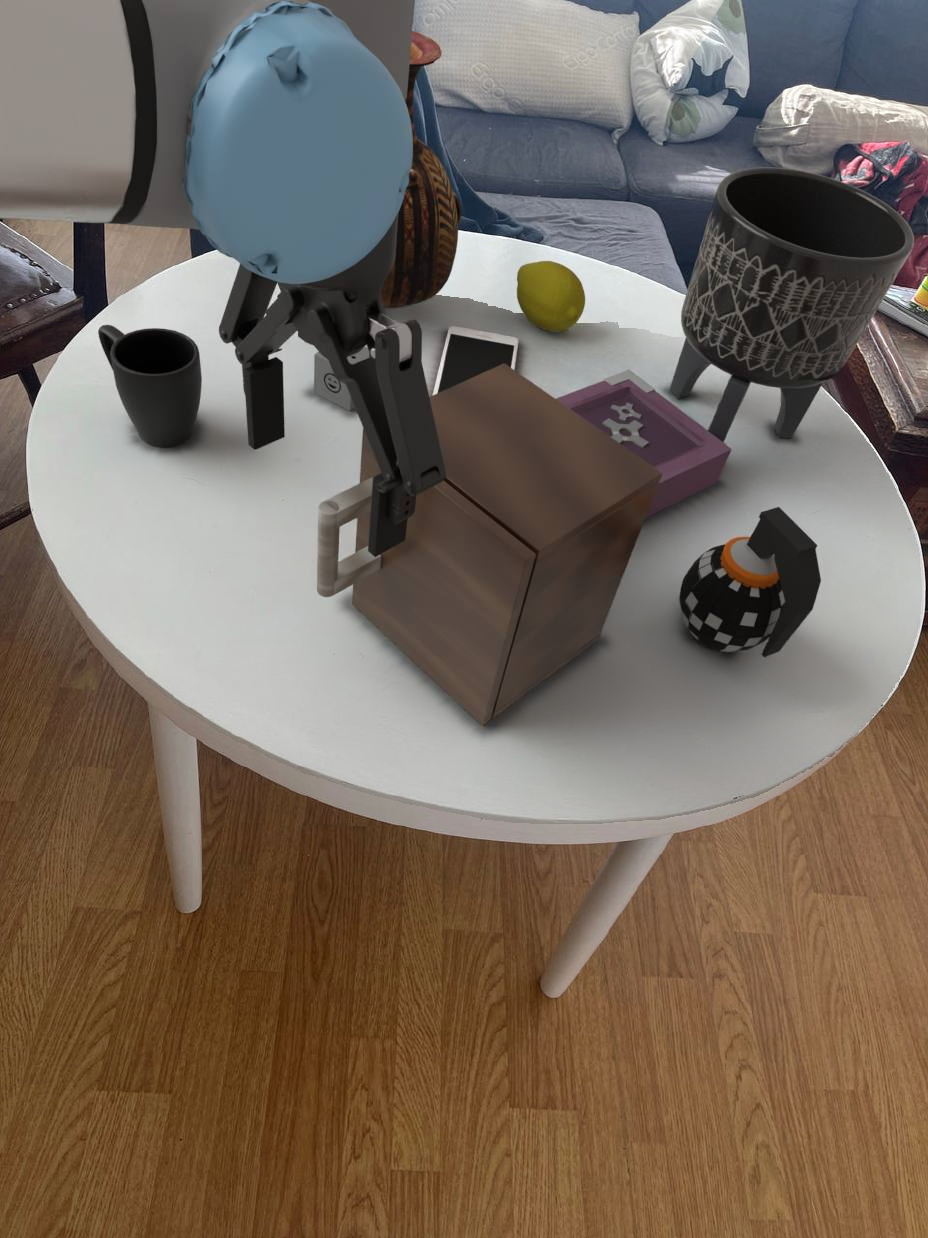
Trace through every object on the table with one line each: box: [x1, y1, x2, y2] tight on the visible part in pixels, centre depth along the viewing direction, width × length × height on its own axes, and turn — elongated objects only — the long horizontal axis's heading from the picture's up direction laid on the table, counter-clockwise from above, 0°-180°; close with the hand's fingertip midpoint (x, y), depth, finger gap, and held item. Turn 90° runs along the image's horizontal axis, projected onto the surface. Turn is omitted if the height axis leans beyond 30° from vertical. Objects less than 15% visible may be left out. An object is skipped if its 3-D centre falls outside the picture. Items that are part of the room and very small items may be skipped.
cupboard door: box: [316, 427, 536, 726], centre depth 70 cm, size 7×17×20 cm, turn 44°
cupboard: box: [429, 364, 663, 720], centre depth 75 cm, size 14×17×20 cm
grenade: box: [678, 506, 822, 658], centre depth 80 cm, size 11×10×15 cm
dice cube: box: [313, 346, 370, 412], centre depth 101 cm, size 5×5×5 cm
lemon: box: [516, 260, 586, 333], centre depth 115 cm, size 11×8×8 cm
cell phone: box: [432, 325, 519, 396], centre depth 107 cm, size 9×18×1 cm, turn 173°
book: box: [555, 369, 732, 519], centre depth 97 cm, size 25×16×5 cm, turn 128°
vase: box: [381, 30, 462, 309], centre depth 104 cm, size 21×18×30 cm
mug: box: [97, 324, 203, 448], centre depth 91 cm, size 8×12×10 cm
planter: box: [668, 166, 915, 443], centre depth 98 cm, size 20×20×26 cm
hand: (324, 491), depth 64 cm, fingers open, 13 cm apart
